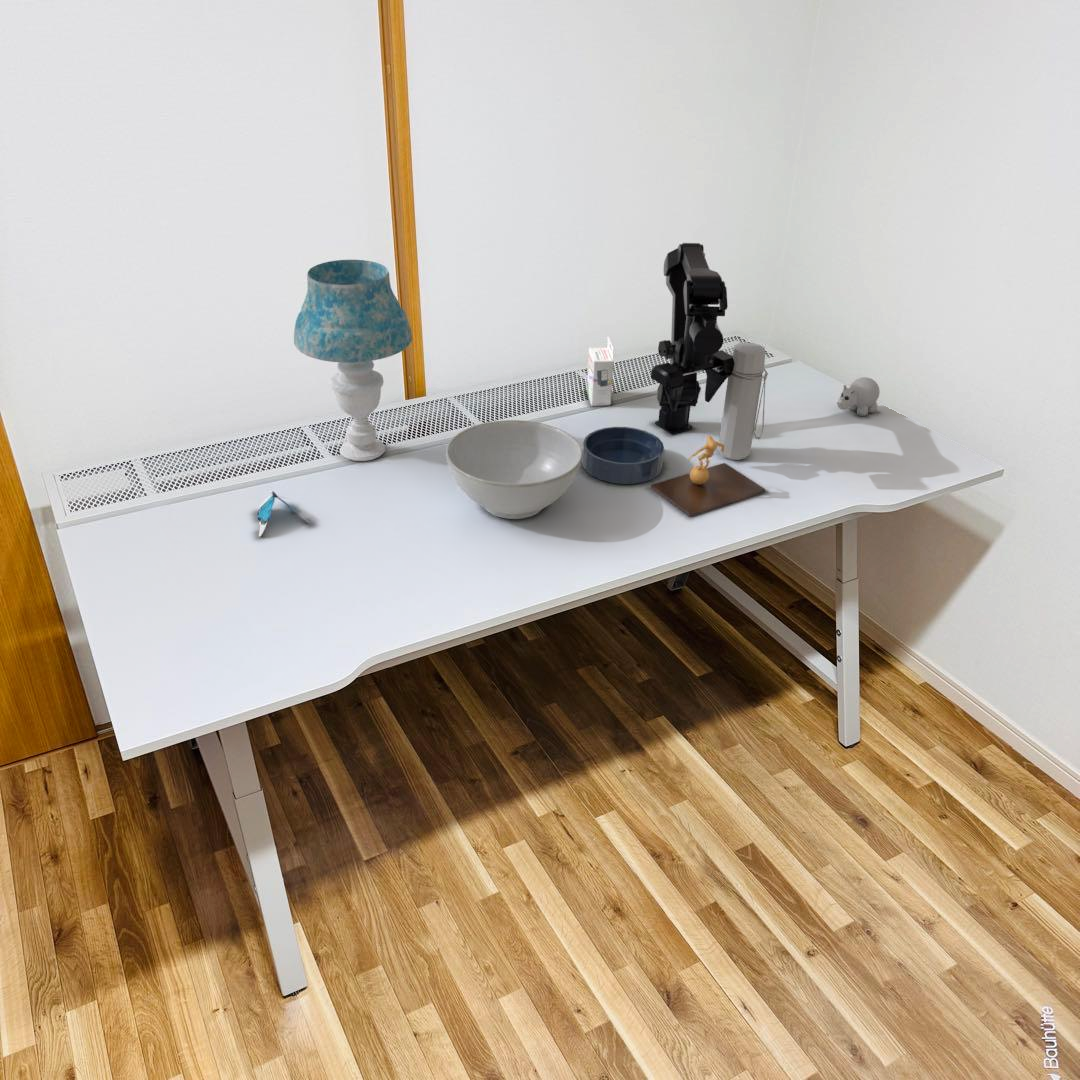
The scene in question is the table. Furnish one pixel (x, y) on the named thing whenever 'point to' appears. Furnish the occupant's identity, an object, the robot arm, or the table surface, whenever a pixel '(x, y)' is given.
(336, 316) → the table lamp
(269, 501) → the decorative butterfly
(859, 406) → the chubby cartoon animal
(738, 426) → the water bottle
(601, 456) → the basin
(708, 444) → the figurine
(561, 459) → the decorative bowl
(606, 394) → the ink box
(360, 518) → the table surface
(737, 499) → the walnut board
